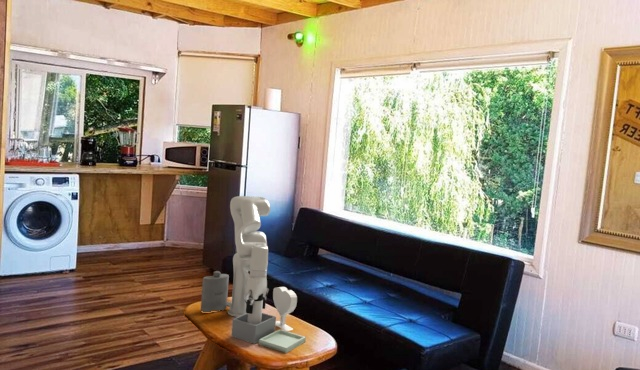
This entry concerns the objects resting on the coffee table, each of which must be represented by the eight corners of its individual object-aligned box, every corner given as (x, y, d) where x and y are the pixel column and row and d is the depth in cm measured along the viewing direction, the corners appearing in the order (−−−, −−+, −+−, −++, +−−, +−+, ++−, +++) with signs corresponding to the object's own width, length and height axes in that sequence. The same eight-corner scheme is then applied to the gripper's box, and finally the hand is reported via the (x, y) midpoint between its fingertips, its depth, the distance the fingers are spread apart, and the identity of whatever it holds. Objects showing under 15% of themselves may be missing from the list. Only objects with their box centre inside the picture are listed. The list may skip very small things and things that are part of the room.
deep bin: (231, 336, 223) (232, 319, 222) (252, 327, 236) (253, 310, 236) (254, 343, 217) (255, 325, 216) (274, 333, 231) (276, 316, 230)
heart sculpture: (295, 330, 237) (299, 293, 236) (287, 332, 234) (290, 294, 233) (278, 319, 249) (280, 284, 248) (269, 321, 246) (272, 285, 245)
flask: (205, 314, 247) (208, 275, 246) (198, 311, 251) (201, 272, 250) (229, 309, 259) (232, 271, 257) (222, 306, 263) (225, 268, 261)
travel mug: (262, 334, 229) (266, 291, 227) (256, 338, 223) (259, 294, 221) (250, 331, 231) (253, 288, 229) (243, 336, 225) (247, 292, 223)
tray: (258, 344, 217) (259, 339, 217) (279, 333, 231) (279, 329, 231) (286, 353, 210) (286, 348, 210) (305, 341, 224) (305, 336, 224)
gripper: (262, 268, 234) (260, 304, 235) (239, 274, 219) (237, 313, 219) (276, 271, 230) (273, 308, 231) (253, 277, 215) (250, 317, 216)
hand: (255, 310), depth 225 cm, fingers open, 9 cm apart
